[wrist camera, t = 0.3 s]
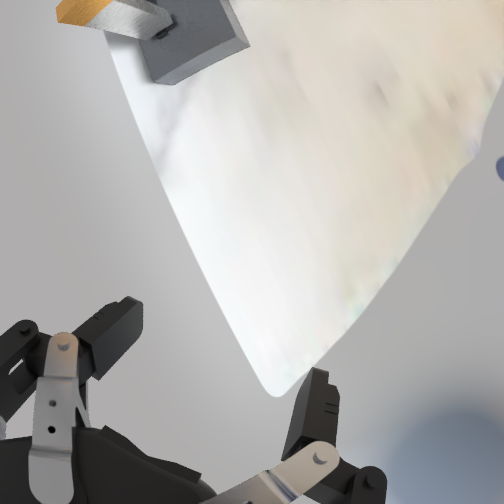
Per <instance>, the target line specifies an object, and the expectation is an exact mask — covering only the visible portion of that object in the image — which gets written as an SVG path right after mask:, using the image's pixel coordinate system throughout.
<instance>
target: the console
mask: <svg viewBox="0 0 504 504" xmlns="http://www.w3.org/2000/svg"><path fill="white" fill-rule="evenodd" d="M146 1H148V2H150V3H153V4H155V5H157V6H159V7H162V8H164V9H166V10H168V12H169V14H170V17H171V19H172V22H173V23H172V24H171V25H169V26H168V27H166V28H164V29H163V30H161V31H160V32H158V33H157V34H155V35H154V36H152V37H151V38H150V39H148V40H147V41H145V40H141V39H139V42H140V45H141V48H142V51H143V54H144V57H145V60H146V63H147V65H148V68H149V71H150V74H151V77H152V80H153V82H154V83H161V84H168V85H175V84H177V83H179V82H180V81H182V80H184V79H186V78H187V77H189V76H191V75H193V74H195V73H197V72H198V71H200V70H202V69H204V68H206V67H208V66H210V65H212V64H214V63H216V62H218V61H220V60H222V59H224V58H226V57H228V56H230V55H232V54H235V53H237V52H239V51H241V50H243V49H246V48H248V47H250V44H249V42H248V40H247V38H246V36H245V34H244V31H243V29H242V27H241V25H240V23H239V21H238V19H237V17H236V15H235V13H234V11H233V9H232V7H231V5H230V3H229V1H228V0H146Z"/></svg>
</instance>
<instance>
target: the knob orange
mask: <svg viewBox="0 0 504 504" xmlns="http://www.w3.org/2000/svg"><path fill="white" fill-rule="evenodd" d="M56 13H57V20H58V23H65V24H72V25H78V26H84V27H90V28H95V29H100V30H105V31H109V32H114V33H118V34H122V35H126V36H130V37H134V38H138V39H141V40H145V41H147V40H148V39H150V38H151V37H152V36H154V35H155V34H157V33H158V32H160V31H161V30H163V29H164V28H166V27H168V26H169V25H171V24H172V23H173V22H172V19H171V17H170V14H169V12H168V10H166V9H164V8H162V7H159V6H157V5H155V4H153V3H150V2H148V1H146V0H63V1H62V2H61V3H60V4H59V5H58V6H57V7H56Z"/></svg>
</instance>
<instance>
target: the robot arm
mask: <svg viewBox="0 0 504 504" xmlns="http://www.w3.org/2000/svg"><path fill="white" fill-rule="evenodd" d="M142 329H143V303H142V302H140V301H138V300H136V299H134V298H132V297H130V296H127V297H125V298H124V299H123V300H121V301H120V302H119V303H118V302H113V303H110V304H107V305H105V306H104V307H103V308H102V309H100V310H99V312H97V313H95V314H94V315H93V317H90V318H89V319H88V320H87V321H85V322H84V323H83V324H82V325H81V326H79V327H78V328H77V329H76V330H75V331H73V332H72V333H68V332H61V333H57V334H55V335H54V336H50V335H47V334H44V333H41V332H39V330H38V327H37V324H36V323H35V322H33V321H31V320H22V321H19V322H17V323H16V324H15V325H13V326H12V327H11V328H10V329H8V330H7V331H6V332H5V333H4V334H3V335H1V336H0V504H289V503H291V502H292V501H294V500H295V499H296V498H298V497H299V496H301V495H302V494H303V495H305V496H307V497H309V498H311V499H313V500H315V501H316V502H318V503H321V504H385V499H386V490H387V478H386V475H385V474H384V473H383V471H382V470H380V469H379V468H377V467H374V466H366V467H363V468H361V469H359V468H357V467H355V466H353V465H351V464H349V463H347V462H345V461H344V460H343V459H342V458H341V457H340V456H339V453H338V451H337V449H336V434H337V425H338V414H339V401H340V395H339V392H338V390H337V387H336V386H334V385H330V384H328V377H329V372H328V371H324V370H321V369H317V368H314V367H312V368H311V369H310V371H309V373H308V375H307V377H306V379H305V380H304V382H303V384H302V386H301V388H300V390H299V392H298V395H297V398H296V401H295V405H294V410H293V414H292V418H291V423H290V427H289V431H288V435H287V439H286V443H285V446H284V450H283V454H282V458H281V461H283V462H282V463H281V464H279V465H277V466H276V467H274V468H273V469H271V470H265V471H263V472H261V473H259V474H257V475H255V476H254V477H252V478H250V479H248V480H246V481H245V482H243V483H241V484H239V485H237V486H235V487H233V488H231V489H229V490H227V491H225V492H223V493H221V494H219V495H217V494H216V492H215V491H214V490H213V489H212V488H211V487H210V486H209V485H207V484H206V483H205V482H204V481H202V480H201V479H200V478H201V473H199V472H196V471H194V470H191V469H189V468H187V467H184V466H182V465H179V464H177V463H174V462H170V461H166V460H161V459H157V458H153V457H149V456H147V455H146V454H144V453H143V452H142V451H141V450H140V449H138V448H137V447H136V446H135V445H134V444H133V443H132V442H130V440H128V439H127V438H126V437H124V436H122V435H121V434H119V433H117V432H116V431H114V430H112V429H111V428H109V427H108V426H106V425H105V426H104V427H103V428H102V430H101V429H96V428H91V425H90V420H89V413H88V379H89V378H90V377H91V376H92V377H94V378H95V379H97V380H98V381H99V380H100V379H101V378H102V377H103V376H104V375H105V374H106V372H107V371H108V370H109V369H110V368H111V367H112V366H113V365H114V364H115V363H116V362H117V361H118V360H119V359H120V357H121V356H122V355H123V354H124V353H125V352H126V351H127V350H128V349H129V348H130V347H131V346H132V345H133V344H134V343H135V342H136V340H137V339H138V338H139V337H140V335H141V333H142ZM21 359H22V360H23V362H22V363H21V364H20V365H19V366H18V367H17V368H16V369H15V370H14V371H13V372H12V373H11V374H10V375H9V372H10V369H11V368H12V367H14V366H15V365H16V364H17V363H18V362H19V361H20V360H21ZM35 390H36V396H35V405H34V418H33V435H32V436H28V437H22V438H13V439H5V437H6V433H5V431H6V423H7V422H8V420H9V419H10V418H11V417H12V416H13V415H14V413H15V412H16V411H17V410H18V409H19V408H20V407H21V405H22V404H23V403H24V402H25V401H26V400H27V399H28V398H29V397H30V395H31V394H32V393H33V392H34V391H35ZM4 439H5V440H4Z"/></svg>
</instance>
